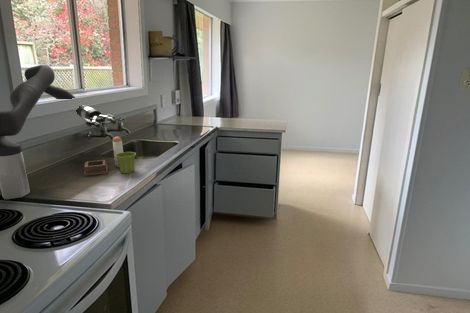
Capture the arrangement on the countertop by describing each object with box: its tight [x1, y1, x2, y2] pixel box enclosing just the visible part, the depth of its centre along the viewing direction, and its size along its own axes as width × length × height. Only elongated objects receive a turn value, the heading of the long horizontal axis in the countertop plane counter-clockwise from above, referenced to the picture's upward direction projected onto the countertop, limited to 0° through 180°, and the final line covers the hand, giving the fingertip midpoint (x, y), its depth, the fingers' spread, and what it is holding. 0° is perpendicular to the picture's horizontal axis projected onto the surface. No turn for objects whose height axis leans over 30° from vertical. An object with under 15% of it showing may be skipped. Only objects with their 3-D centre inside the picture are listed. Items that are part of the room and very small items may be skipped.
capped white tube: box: [112, 136, 124, 168], centre depth 160 cm, size 4×4×15 cm
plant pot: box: [115, 151, 137, 174], centre depth 152 cm, size 9×9×9 cm
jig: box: [84, 159, 108, 176], centre depth 153 cm, size 10×10×4 cm
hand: (107, 124), depth 162 cm, fingers open, 8 cm apart
